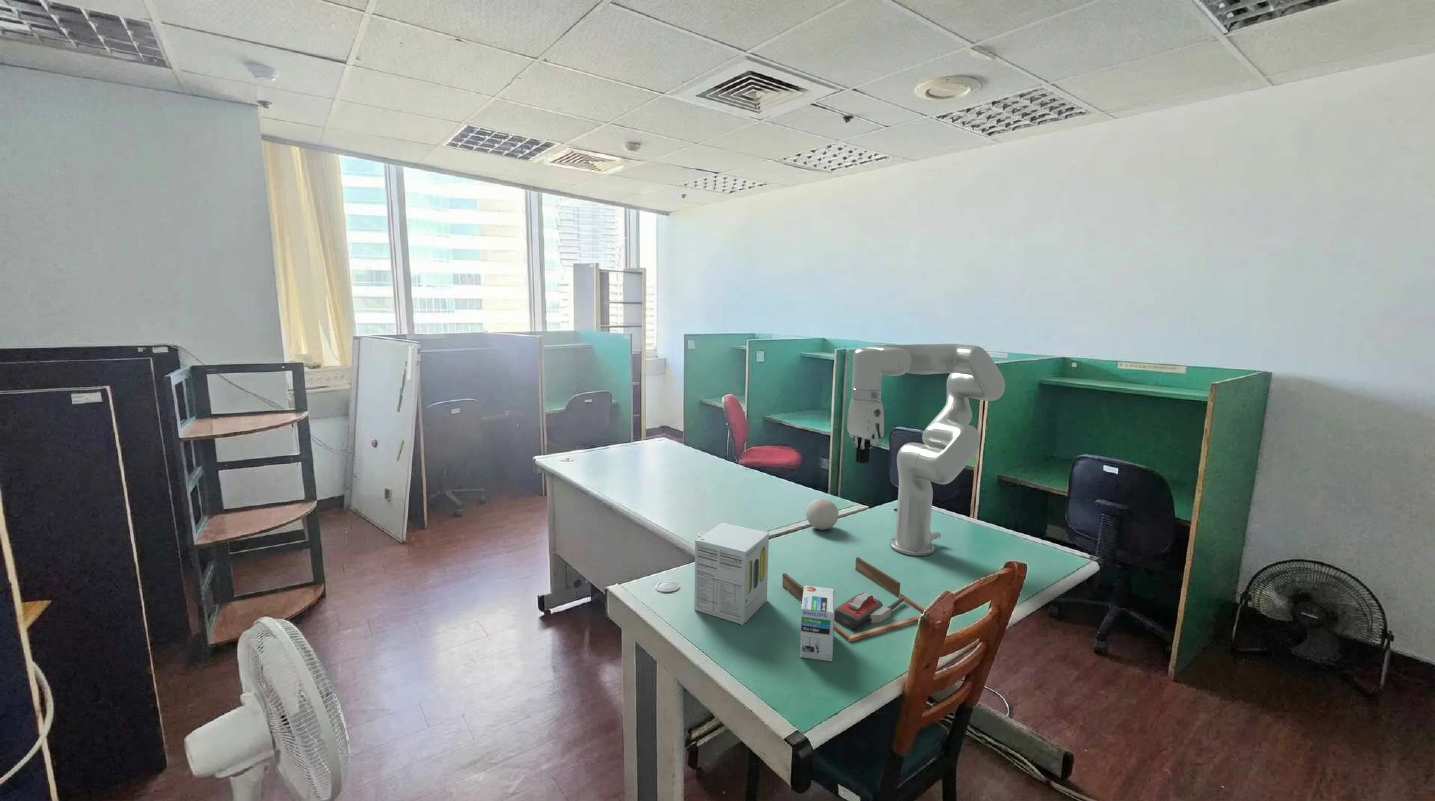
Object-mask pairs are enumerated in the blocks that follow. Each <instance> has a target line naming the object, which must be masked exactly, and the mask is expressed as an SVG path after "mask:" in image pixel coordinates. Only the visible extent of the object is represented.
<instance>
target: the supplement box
mask: <svg viewBox="0 0 1435 801" xmlns="http://www.w3.org/2000/svg"><path fill="white" fill-rule="evenodd" d="M769 537H770V533H769V531H763V530H758V529H754V528H751V527H750V528H749V527H745V526H740V525H736V524H731V523H727V522H721V523H719V524H718V525H715V526H714V527H713V528H711V529H710V530H708V531H707V532H706V533H704V534H703V535H701V536H700V537H698V538H696V539H695V541H694V544H695V545H694V603H693V604H694V605H693V606H694V610H695V611H697V612H701V613H704V614H707V615H711V616H714V617H716V618H720V619H724V620H726V621H730V622H731V623H736V624H737V625H741V626H744V625H745V623H747V621H749V619H750V618H752V616H753V615H755V613H756V612H758V610H759V609H760V608H761V607H763V605H765V603H766V602H767V600H768V580H769V579H768V578H769V577H768V575H769V574H768V571H769V569H768V568H769V544H770V542H769V539H770V538H769Z"/></svg>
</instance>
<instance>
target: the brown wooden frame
mask: <svg viewBox="0 0 1435 801" xmlns="http://www.w3.org/2000/svg"><path fill="white" fill-rule="evenodd" d="M854 570H855V571H856V572H858V573H860V574H861V575H863V576H864V577H866V578H867V579H869V580H870V581H872V582H873V583H875V584H877V585H878V586H880V587H881V588H883V589H884V590H886V591H887V592H889V593H890V594H892V595H894V596H895V597H898V599H900V598H904V601H903V602H904V603H906V604H908V605H909V606H910V607H912V608H914V609H915V610H916V611H918V612H920V613H921V614H919V615H917V616H913V617H910V618H909V617H908V618H905V619H902V620H899V621H896V622H893V623H892V622H891V623H889V624H885V625H881V626H878V627H875V628H870V629H868V630H864V631H861V632H856V633H854V634H848V632H846V631H845V630H843V629H842V628H841V627H840V626H839V625H837V624H836V623H835V622H834V632H836V633H838V634H839V635H840V636H842V638H843V639H845V640H846V641H847V642H848V643H852V642H856V641H858V640H861V639H864V638H865V639H866V638H869V637H873V636H875V635H878V634H879V635H880V634H882V633H886V632H889V631H892V630H895V629H899V628H902V627H905V626H909V625H912V624H916V623H919V622H918V619H919V618H920V616H921V615H922V614H923V612H924V610H927V609H926V608H924V607H923V606H921V605H919V604H918V603H916V602H915V601H913V600H911V599H910V598H909V597H907V596H905V595H903V594H902V593H900V591H901V582H900V581H898V580H897V579H895V578H893V577H892V576H890V575H888V574H886V573H885V572H883V571H882V570H880V569H879V568H877V567H875V566H874V565H872V564H870V563H869V562H867V561H865V560H863V559H862V558H860V557H859V556H858V557H857V556H856V557H855V568H854ZM781 586H783V587H782V588H784V589H785V588H786V589H787V590H788V591H789V592H788V591H787V590H786V589H785V590H786V591H787V592H788V593H790V594H791V593H792V594H791V595H792V596H793V595H794V596H795V597H794V596H793V597H794V598H795V599H797V598H798V599H797V600H798V601H799V602H800V601H801V602H800V603H802V599H803V591H804V585H802V584H800V583H799V582H797V581H796V580H795V579H794V578H793V577H792V576H790V575H789V574H787V573H786V572H785V573H782V583H781Z"/></svg>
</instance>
